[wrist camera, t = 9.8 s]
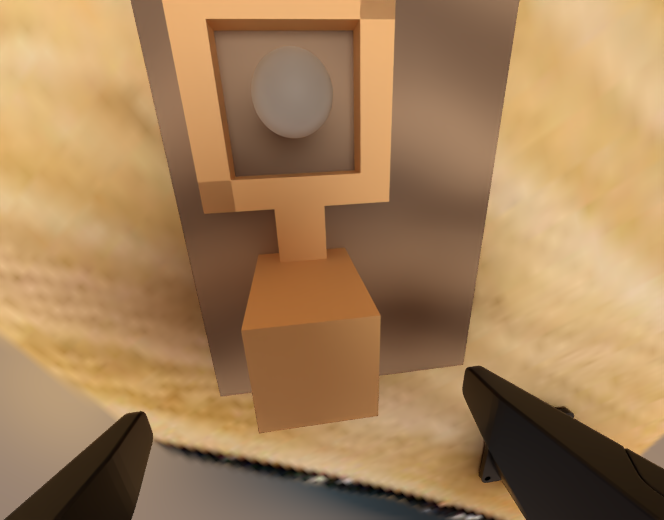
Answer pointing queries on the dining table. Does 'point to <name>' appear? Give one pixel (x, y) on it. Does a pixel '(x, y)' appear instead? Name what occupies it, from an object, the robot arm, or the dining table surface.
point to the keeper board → (350, 168)
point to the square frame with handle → (296, 211)
